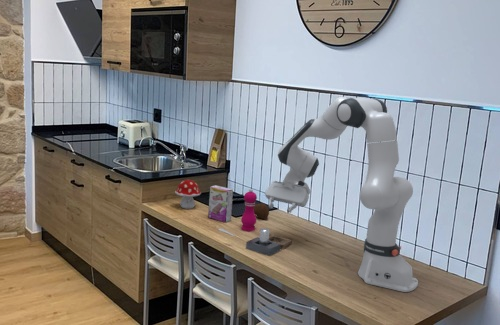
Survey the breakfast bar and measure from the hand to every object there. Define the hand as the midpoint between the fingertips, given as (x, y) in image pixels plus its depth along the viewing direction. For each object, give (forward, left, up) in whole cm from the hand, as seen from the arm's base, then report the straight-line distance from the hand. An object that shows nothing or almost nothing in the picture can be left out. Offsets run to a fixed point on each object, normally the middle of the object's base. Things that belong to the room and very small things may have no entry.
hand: (279, 209), depth 225 cm
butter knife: (+19, +6, -16) cm, 25 cm away
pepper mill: (+20, -7, -16) cm, 26 cm away
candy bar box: (+39, -9, -16) cm, 43 cm away
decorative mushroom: (+64, -13, -16) cm, 67 cm away
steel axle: (0, +11, -16) cm, 19 cm away
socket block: (0, +11, -16) cm, 19 cm away
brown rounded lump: (+26, -27, -16) cm, 40 cm away
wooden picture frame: (0, +1, -16) cm, 16 cm away
